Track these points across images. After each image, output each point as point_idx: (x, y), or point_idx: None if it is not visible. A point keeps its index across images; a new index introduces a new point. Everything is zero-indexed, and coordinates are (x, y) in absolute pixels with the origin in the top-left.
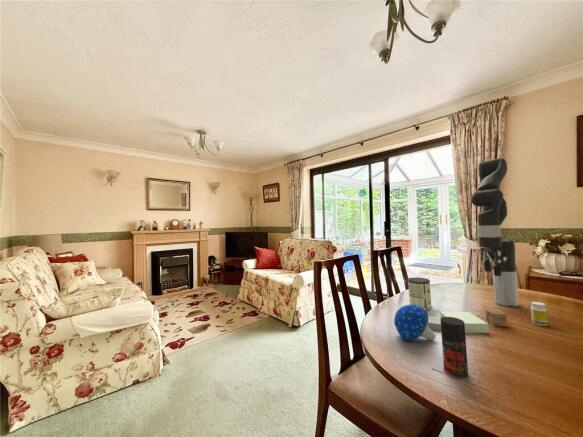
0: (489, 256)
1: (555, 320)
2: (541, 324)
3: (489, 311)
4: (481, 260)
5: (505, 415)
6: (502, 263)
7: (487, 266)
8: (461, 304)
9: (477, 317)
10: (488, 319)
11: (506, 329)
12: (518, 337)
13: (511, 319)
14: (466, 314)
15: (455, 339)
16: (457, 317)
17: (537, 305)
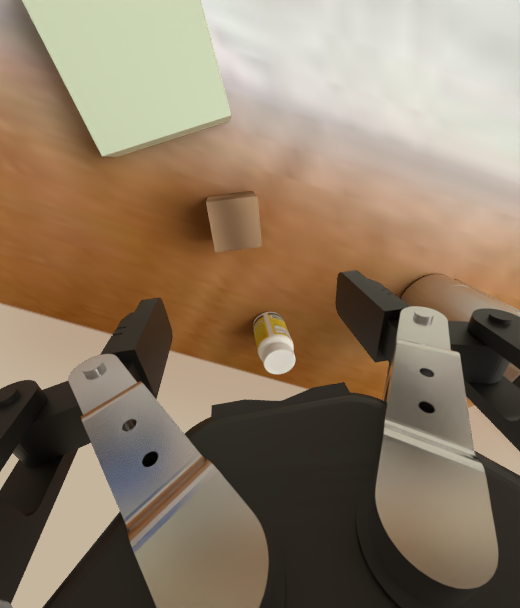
0: (128, 473)
1: (300, 358)
2: (253, 324)
3: (228, 202)
4: (486, 310)
5: None
6: (22, 463)
7: (361, 314)
8: (425, 143)
9: (165, 133)
10: (235, 194)
11: (183, 229)
12: (127, 241)
13: (282, 270)
14: (190, 87)
15: None
16: (115, 9)
17: (265, 355)
